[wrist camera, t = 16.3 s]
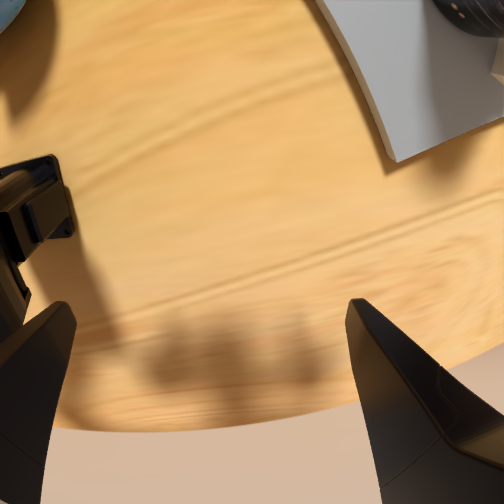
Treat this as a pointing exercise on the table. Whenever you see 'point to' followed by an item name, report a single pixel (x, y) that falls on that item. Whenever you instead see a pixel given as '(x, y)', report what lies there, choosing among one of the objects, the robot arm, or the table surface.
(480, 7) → the supplement bottle
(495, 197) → the table surface
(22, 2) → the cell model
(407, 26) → the v cradle
